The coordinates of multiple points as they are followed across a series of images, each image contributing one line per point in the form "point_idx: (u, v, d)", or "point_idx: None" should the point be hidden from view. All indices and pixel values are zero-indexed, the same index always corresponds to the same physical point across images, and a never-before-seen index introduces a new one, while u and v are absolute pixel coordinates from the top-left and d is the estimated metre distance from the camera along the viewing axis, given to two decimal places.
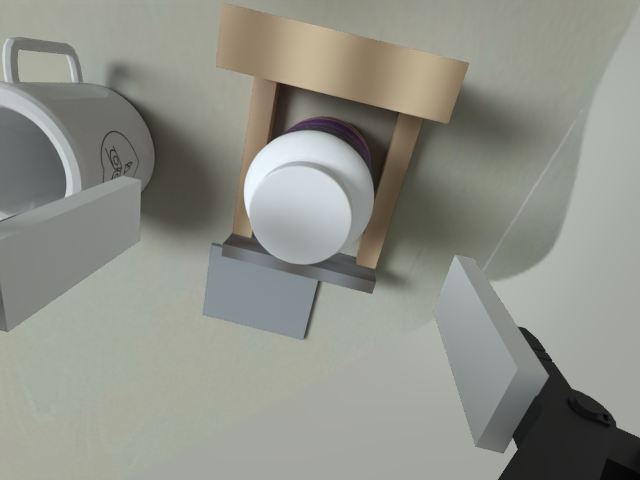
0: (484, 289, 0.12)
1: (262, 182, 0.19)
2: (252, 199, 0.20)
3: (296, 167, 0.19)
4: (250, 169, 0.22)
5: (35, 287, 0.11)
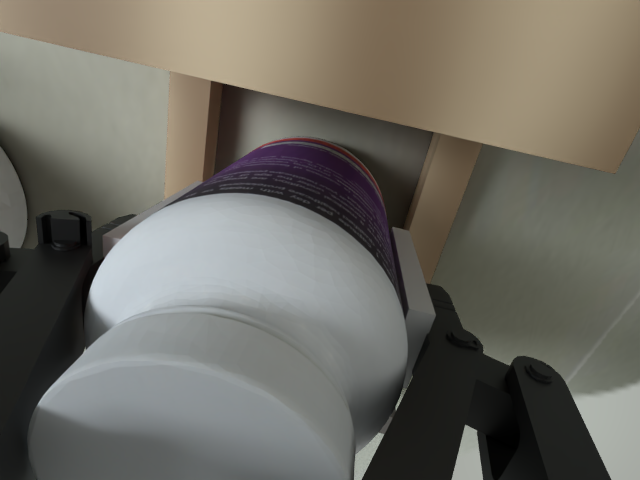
0: (407, 253, 0.14)
1: (48, 398, 0.06)
2: (31, 438, 0.06)
3: (148, 362, 0.05)
4: (89, 293, 0.09)
5: None
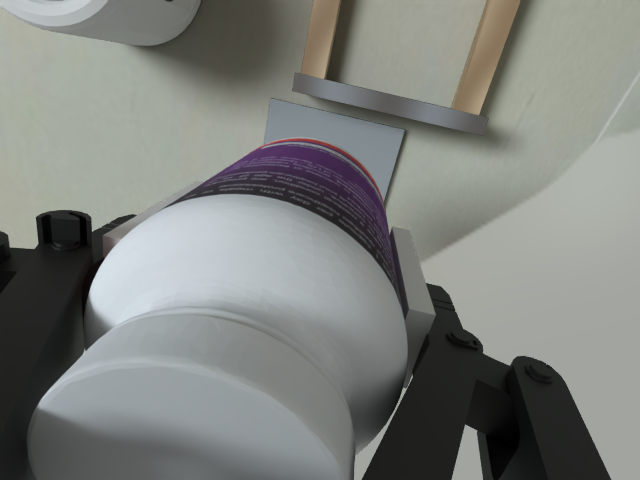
0: (407, 253, 0.14)
1: (47, 399, 0.06)
2: (30, 440, 0.06)
3: (147, 364, 0.05)
4: (89, 294, 0.09)
5: None
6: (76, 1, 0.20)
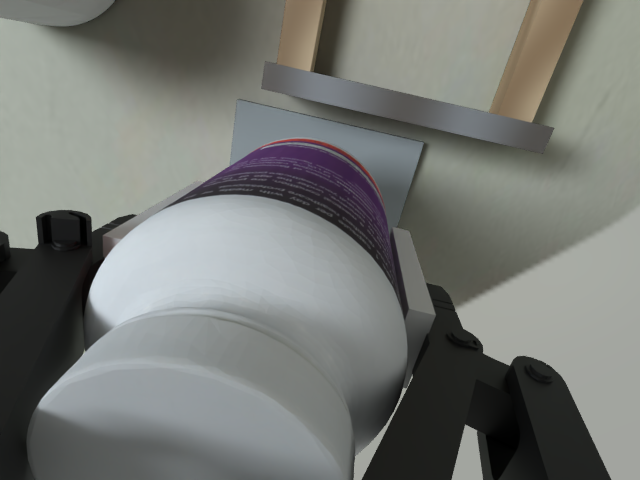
0: (407, 253, 0.14)
1: (47, 400, 0.06)
2: (30, 441, 0.06)
3: (146, 365, 0.05)
4: (88, 295, 0.09)
5: None
6: None
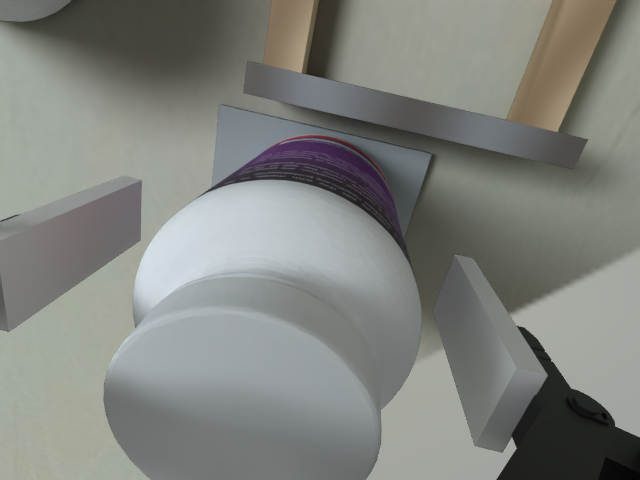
0: (483, 289, 0.12)
1: (127, 345, 0.07)
2: (107, 383, 0.07)
3: (216, 313, 0.06)
4: (140, 268, 0.10)
5: (36, 287, 0.11)
6: None
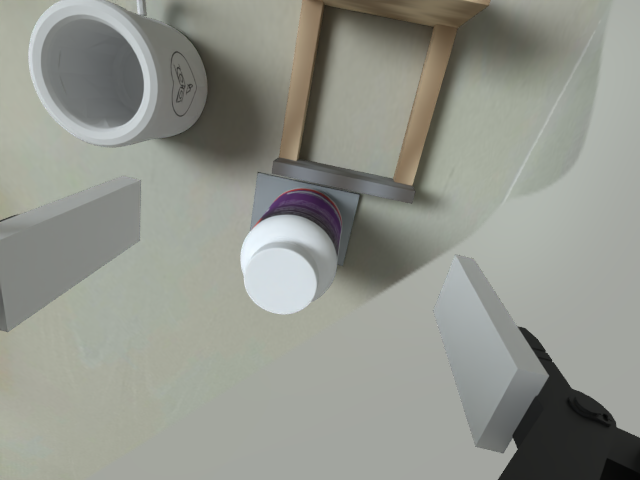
0: (484, 289, 0.12)
1: (252, 258, 0.27)
2: (246, 270, 0.28)
3: (275, 248, 0.27)
4: (244, 243, 0.30)
5: (35, 287, 0.11)
6: (121, 130, 0.30)
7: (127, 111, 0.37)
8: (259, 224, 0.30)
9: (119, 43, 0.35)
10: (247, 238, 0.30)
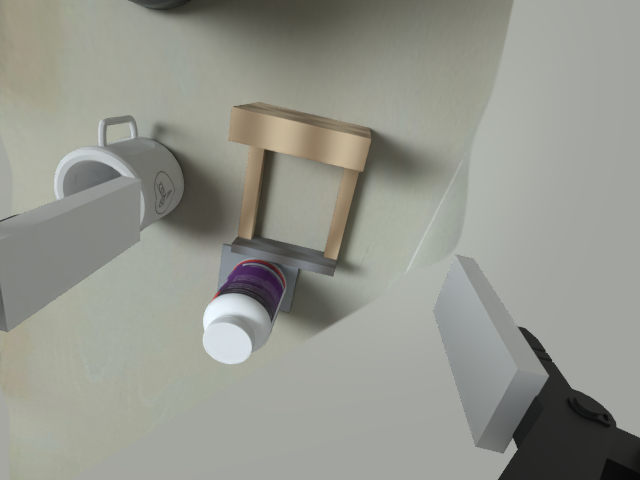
0: (484, 289, 0.12)
1: (208, 328, 0.40)
2: (204, 335, 0.40)
3: (223, 323, 0.39)
4: (205, 312, 0.43)
5: (35, 287, 0.11)
6: None
7: None
8: (215, 300, 0.42)
9: None
10: (207, 309, 0.43)
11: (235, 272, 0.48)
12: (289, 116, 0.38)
